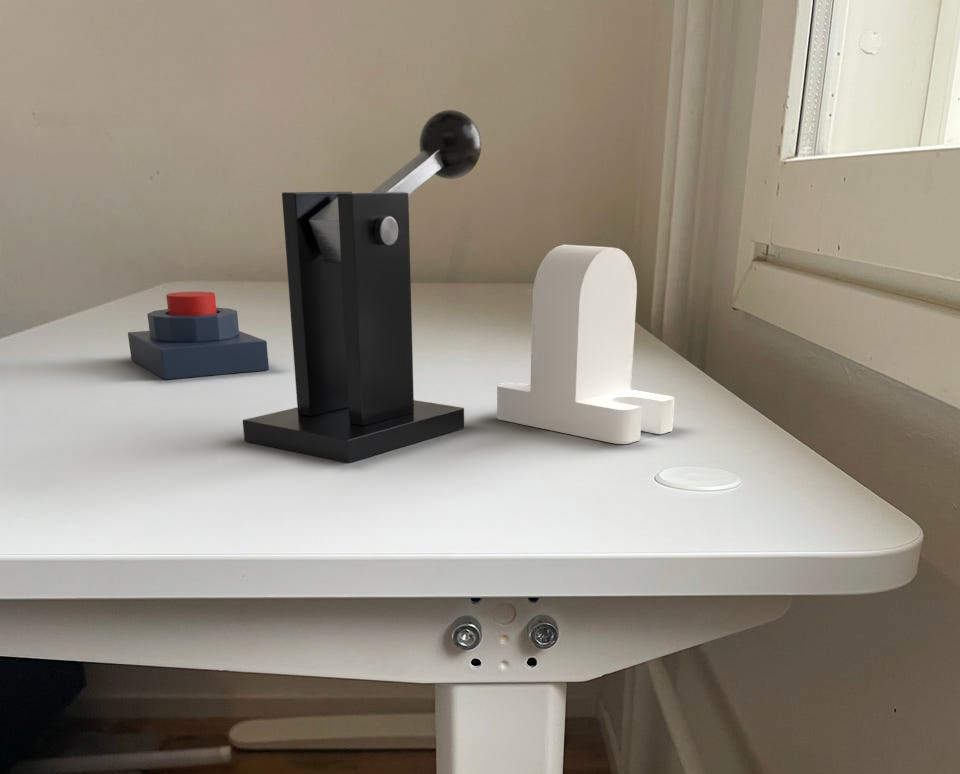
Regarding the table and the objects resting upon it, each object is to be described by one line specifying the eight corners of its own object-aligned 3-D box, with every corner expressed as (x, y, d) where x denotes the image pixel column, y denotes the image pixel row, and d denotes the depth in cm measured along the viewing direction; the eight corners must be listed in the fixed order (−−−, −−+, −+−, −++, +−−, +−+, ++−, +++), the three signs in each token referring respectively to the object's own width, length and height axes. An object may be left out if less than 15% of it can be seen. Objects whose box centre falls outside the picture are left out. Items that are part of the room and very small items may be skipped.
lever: (451, 162, 62) (434, 100, 60) (499, 161, 60) (484, 97, 58) (318, 272, 56) (294, 208, 53) (367, 275, 54) (344, 209, 51)
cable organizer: (548, 405, 66) (553, 240, 62) (676, 429, 60) (691, 248, 56) (492, 418, 63) (493, 244, 59) (622, 445, 56) (634, 252, 52)
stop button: (163, 316, 79) (160, 293, 78) (209, 313, 81) (206, 290, 80) (176, 321, 76) (173, 297, 76) (223, 318, 78) (221, 294, 77)
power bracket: (364, 411, 65) (353, 190, 59) (464, 428, 60) (463, 192, 55) (244, 441, 57) (220, 192, 52) (348, 463, 53) (334, 194, 48)
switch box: (131, 360, 82) (124, 308, 81) (227, 352, 86) (222, 302, 84) (164, 379, 74) (157, 322, 73) (269, 370, 78) (264, 315, 76)
